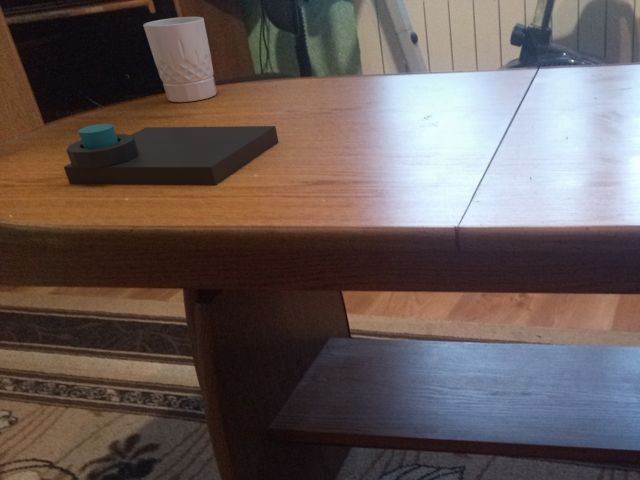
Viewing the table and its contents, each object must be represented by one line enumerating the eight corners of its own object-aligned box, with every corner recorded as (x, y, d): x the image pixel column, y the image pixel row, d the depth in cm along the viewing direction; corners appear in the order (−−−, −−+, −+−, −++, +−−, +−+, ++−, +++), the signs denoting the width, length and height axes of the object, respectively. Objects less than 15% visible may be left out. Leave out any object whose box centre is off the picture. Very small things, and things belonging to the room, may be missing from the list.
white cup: (169, 94, 107) (149, 20, 102) (223, 88, 108) (206, 14, 103) (159, 106, 101) (137, 27, 95) (218, 100, 102) (199, 22, 96)
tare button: (76, 150, 71) (70, 132, 70) (97, 141, 74) (91, 123, 73) (105, 150, 70) (99, 132, 69) (125, 141, 73) (120, 123, 72)
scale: (65, 187, 72) (52, 152, 70) (150, 144, 84) (141, 112, 82) (213, 188, 68) (203, 151, 67) (279, 143, 80) (272, 110, 79)
